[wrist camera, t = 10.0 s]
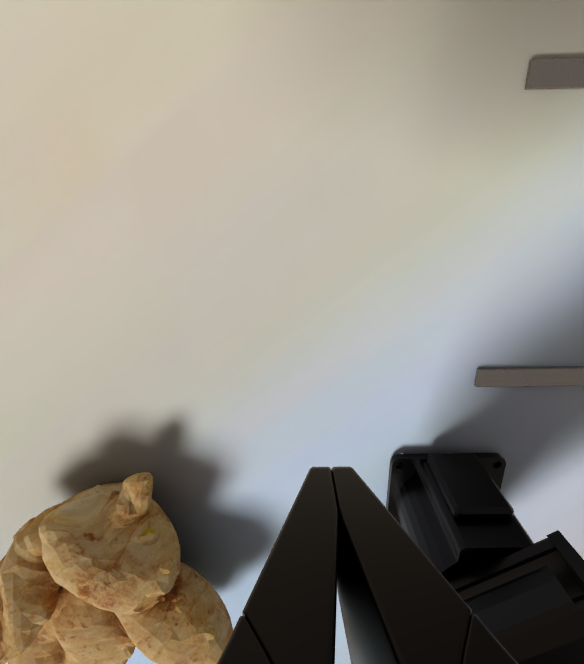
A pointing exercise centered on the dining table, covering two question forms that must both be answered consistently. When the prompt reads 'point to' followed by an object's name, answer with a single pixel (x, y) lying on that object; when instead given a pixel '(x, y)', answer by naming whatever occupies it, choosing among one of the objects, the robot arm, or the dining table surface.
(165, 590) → the ginger root
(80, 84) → the dining table surface
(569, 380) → the rails
